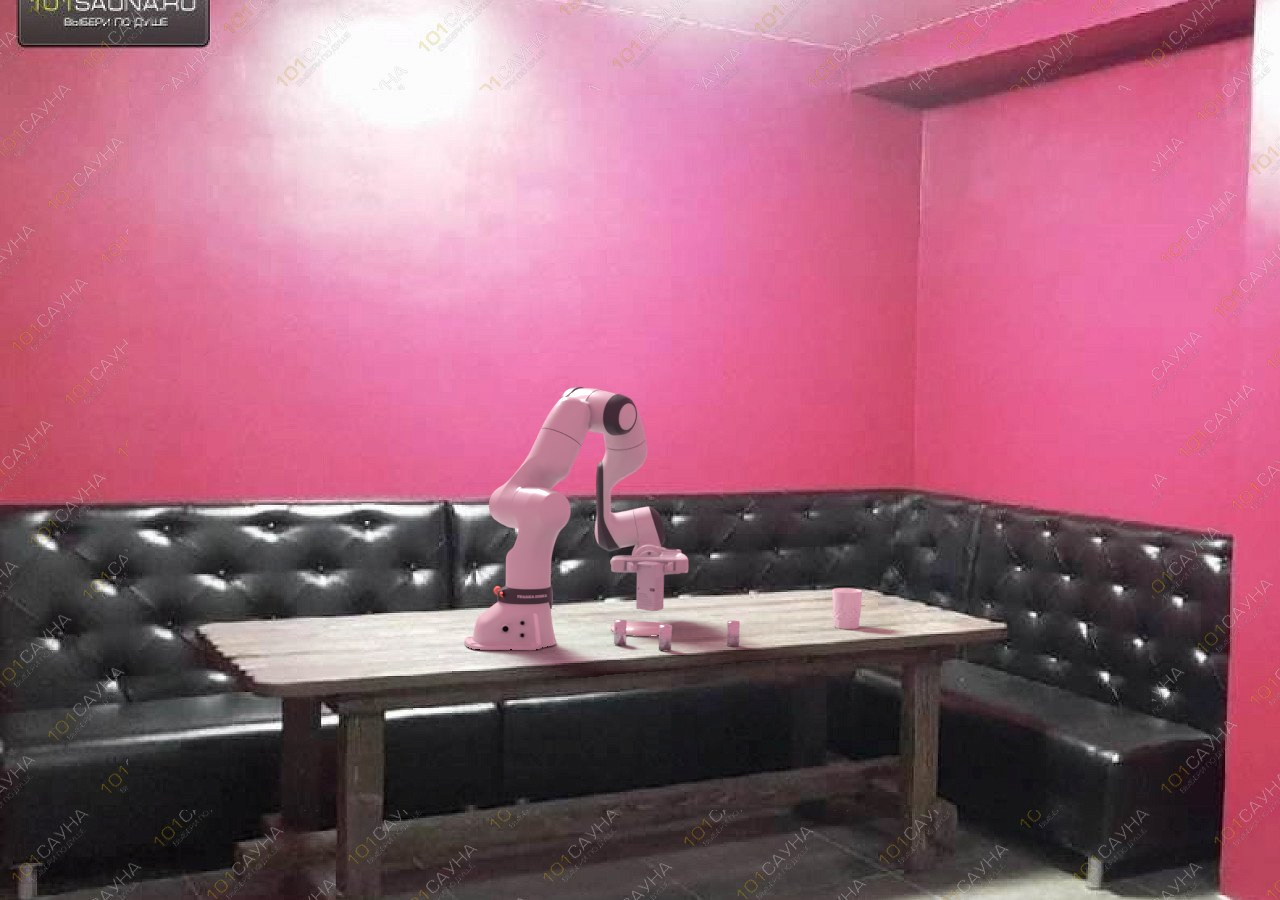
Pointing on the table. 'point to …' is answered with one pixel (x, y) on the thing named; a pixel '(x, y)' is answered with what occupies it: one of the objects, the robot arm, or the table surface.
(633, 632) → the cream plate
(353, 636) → the table surface
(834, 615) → the pink cup
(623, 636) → the posts
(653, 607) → the skincare box
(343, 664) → the table surface
